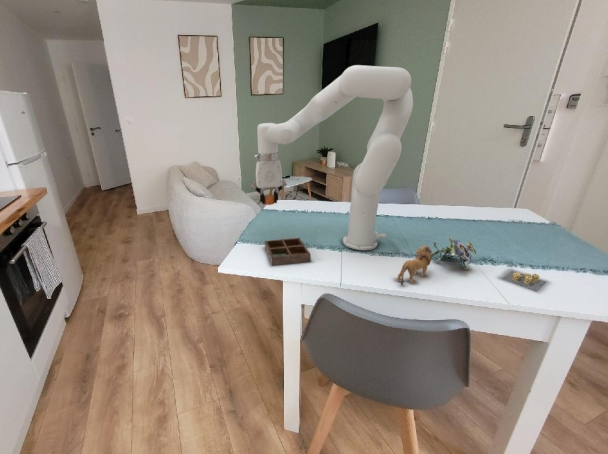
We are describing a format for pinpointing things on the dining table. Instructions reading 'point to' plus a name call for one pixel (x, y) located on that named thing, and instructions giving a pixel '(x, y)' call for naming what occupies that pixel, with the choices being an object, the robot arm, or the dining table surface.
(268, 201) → the orange short cylinder
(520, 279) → the dice set
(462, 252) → the passion flower
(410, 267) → the lion figurine
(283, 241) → the grid
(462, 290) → the dining table surface
